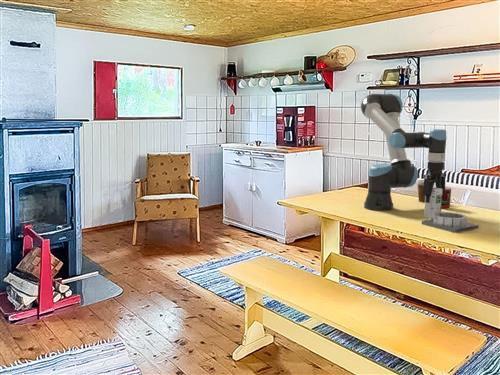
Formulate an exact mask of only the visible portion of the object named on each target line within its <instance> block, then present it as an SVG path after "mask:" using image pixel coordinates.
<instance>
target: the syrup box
mask: <svg viewBox="0 0 500 375" xmlns="http://www.w3.org/2000/svg"><path fill="white" fill-rule="evenodd" d="M425 193H426V192H425ZM431 196H432V203H431V210H429V209H425V208H426V196H425V203H424V213H423V216H424V218H427V219H428V218H429V219H434V214H435V213H438V212H442V209H441V206H442V188H436V186H433V189H432V193H431Z"/></svg>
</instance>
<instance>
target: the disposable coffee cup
mask: <svg viewBox="0 0 500 375" xmlns="http://www.w3.org/2000/svg"><path fill="white" fill-rule="evenodd" d="M416 183H417V192H418V194H417V195H418V202H420V203H424V204H425V195H423V186H424V179H417V181H416ZM434 185H436V184H435V183H434Z"/></svg>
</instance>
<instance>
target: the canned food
mask: <svg viewBox="0 0 500 375" xmlns="http://www.w3.org/2000/svg"><path fill="white" fill-rule="evenodd" d="M442 191H443V190H442ZM451 193H452V188H451V187H449V186H445V193H444V195H442V206H441V210H449V209H450V207H451V197H452V195H451Z"/></svg>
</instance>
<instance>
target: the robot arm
mask: <svg viewBox="0 0 500 375" xmlns="http://www.w3.org/2000/svg"><path fill="white" fill-rule="evenodd" d="M403 107H404V106H403V100H402V98H401V96H399V95H397V94H393V93H371V94H368V95H366V96H365V97H364V98H363V99H362V101H361V104H360V110H361V111H360V112H361V113H362V114H363V115H364V117H365V118H366V119H370V120H371V121H372V122H373V123H374V124H375V125H376V126H377V127H378V128H379V129H380V130H381V131H382V133H384V136H385V141H386V145H387V150H388V154H389V159H390V162H389V163H376V164H372V165H371V166H370V167H369V171H368V183H367V184H368V187H367V195H366V198H365V200H364V204H363V207H364V209H368V210H372V211H392V210H393V209H394V203H393V200H392V196H391V195H392V194H391V192H392V189H395V188H397V189H398V188H403V189H404V188H411V187H414V185H415V184H416V183H417V182H418V178H419V170H418V168H417V167H416V166H415V165H413V164H412V161H411V160H410V159H409V158H407V153H406V149H422V148H423V149H428V155H427V160H428V162H427V170H428V173H426V174H424V175H423V180H424V186H423V195H425V196H426V208H425V207H424V210H425V209H429V210H431V203H432V196H431V193H432V189H433V187H436V188H442V190H443V191H442V195H444V193H445V187H446V177H447V173H446V172H443V171H444V170H445V160H446V159H445V158H446V148H447V129H443V128H442V129H441V128H440V129H438V128H436V129H435V128H433V129H430V131H429V132H424V131H417V132H406V131H405V130H403V128H402V127H401V125H400V120H399V117H400V116H401V113H402V112H403ZM434 183H435V184H434ZM425 192H426V193H425Z"/></svg>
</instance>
